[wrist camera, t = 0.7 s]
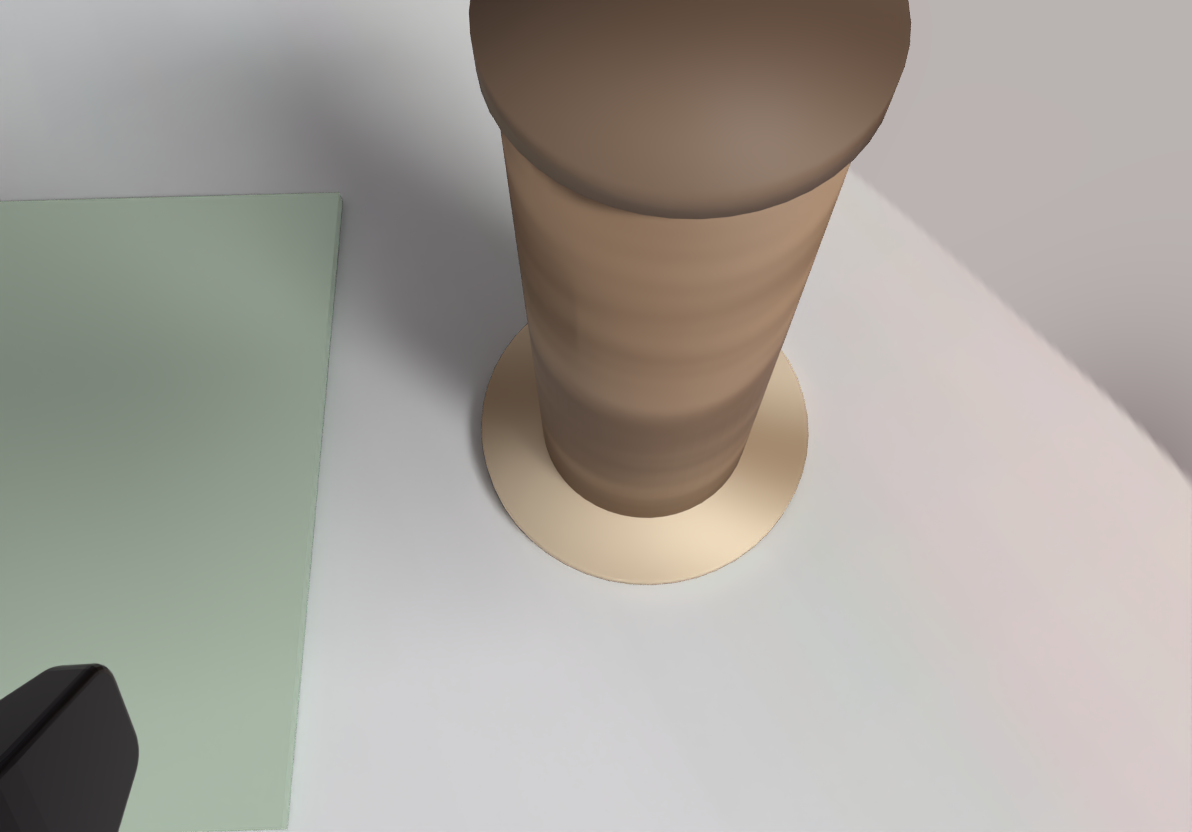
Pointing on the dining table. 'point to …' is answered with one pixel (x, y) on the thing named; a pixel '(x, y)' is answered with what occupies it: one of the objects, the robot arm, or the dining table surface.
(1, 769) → the robot arm
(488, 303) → the dining table surface
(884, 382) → the dining table surface
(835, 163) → the canister
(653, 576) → the coaster
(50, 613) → the mat
